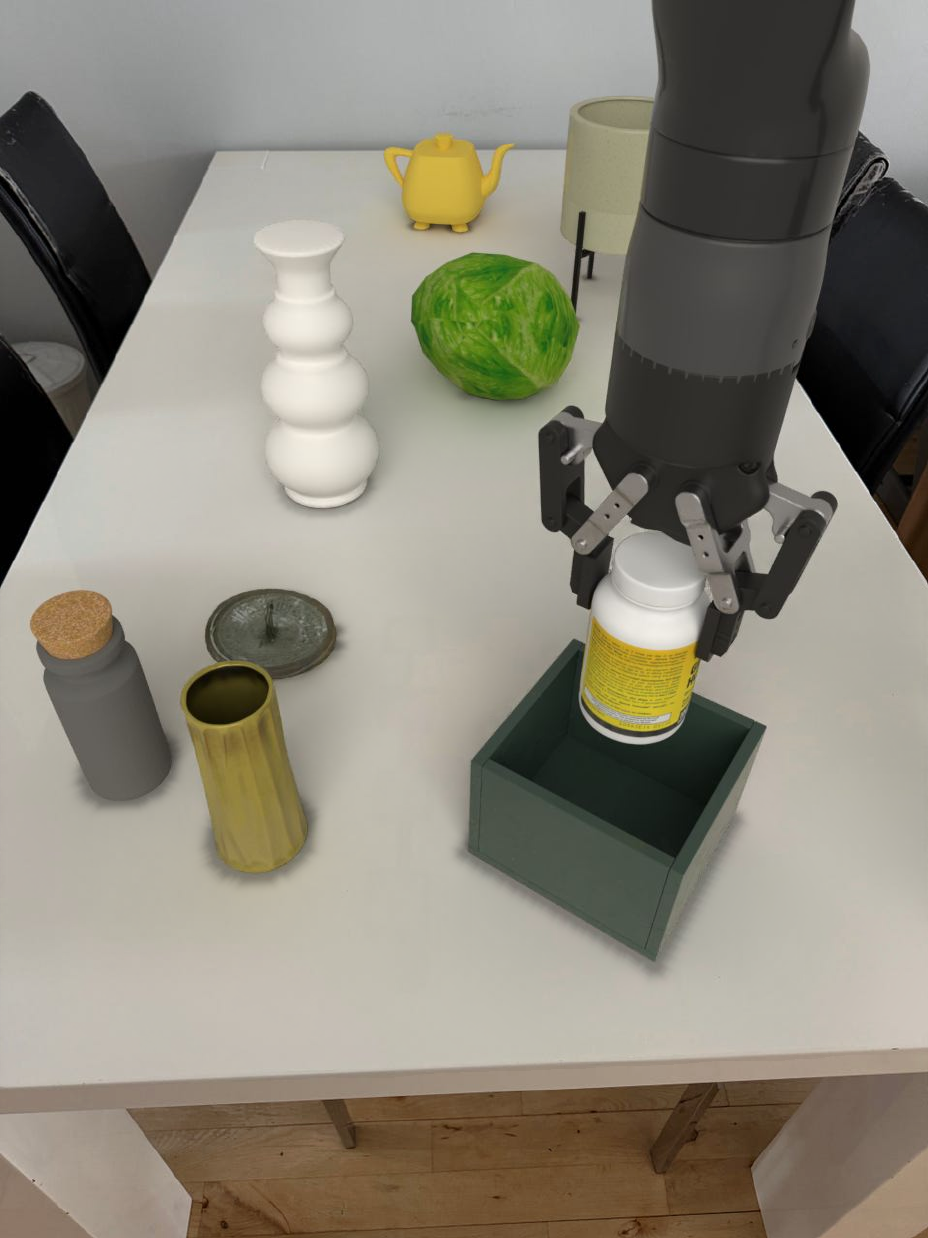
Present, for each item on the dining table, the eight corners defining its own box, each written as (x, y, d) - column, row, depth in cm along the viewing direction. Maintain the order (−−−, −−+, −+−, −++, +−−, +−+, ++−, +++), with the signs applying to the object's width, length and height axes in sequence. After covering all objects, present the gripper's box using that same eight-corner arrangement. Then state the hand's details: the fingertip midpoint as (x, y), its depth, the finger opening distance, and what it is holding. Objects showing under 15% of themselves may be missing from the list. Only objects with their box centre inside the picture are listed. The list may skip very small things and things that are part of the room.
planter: (666, 334, 116) (701, 136, 100) (544, 318, 119) (558, 124, 103) (678, 286, 126) (710, 100, 111) (565, 272, 129) (581, 90, 114)
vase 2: (396, 467, 93) (385, 216, 76) (358, 530, 86) (337, 266, 68) (297, 450, 95) (264, 202, 78) (252, 510, 88) (205, 249, 70)
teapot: (507, 241, 138) (511, 152, 129) (377, 232, 140) (373, 144, 131) (516, 210, 147) (520, 125, 139) (395, 201, 149) (392, 118, 141)
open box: (733, 817, 63) (767, 725, 56) (654, 962, 55) (683, 876, 48) (561, 731, 68) (573, 637, 61) (467, 852, 60) (470, 760, 54)
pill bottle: (696, 747, 50) (740, 599, 43) (586, 751, 50) (610, 602, 43) (672, 666, 55) (708, 519, 47) (570, 669, 55) (590, 522, 47)
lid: (196, 647, 76) (172, 613, 72) (289, 576, 79) (271, 539, 75) (267, 723, 71) (245, 691, 67) (364, 643, 74) (349, 608, 70)
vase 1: (326, 824, 62) (303, 682, 52) (263, 891, 58) (226, 751, 48) (260, 782, 64) (226, 639, 55) (196, 844, 61) (147, 702, 51)
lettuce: (611, 372, 108) (563, 236, 106) (576, 364, 89) (516, 199, 88) (484, 427, 114) (436, 299, 113) (426, 430, 96) (368, 277, 94)
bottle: (74, 763, 65) (4, 610, 55) (149, 723, 68) (96, 570, 58) (109, 816, 62) (41, 664, 52) (186, 772, 65) (137, 619, 55)
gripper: (509, 311, 37) (495, 611, 49) (863, 417, 31) (752, 729, 43) (596, 253, 42) (564, 540, 53) (918, 336, 36) (804, 638, 48)
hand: (648, 623), depth 48 cm, fingers closed on pill bottle, 6 cm apart
